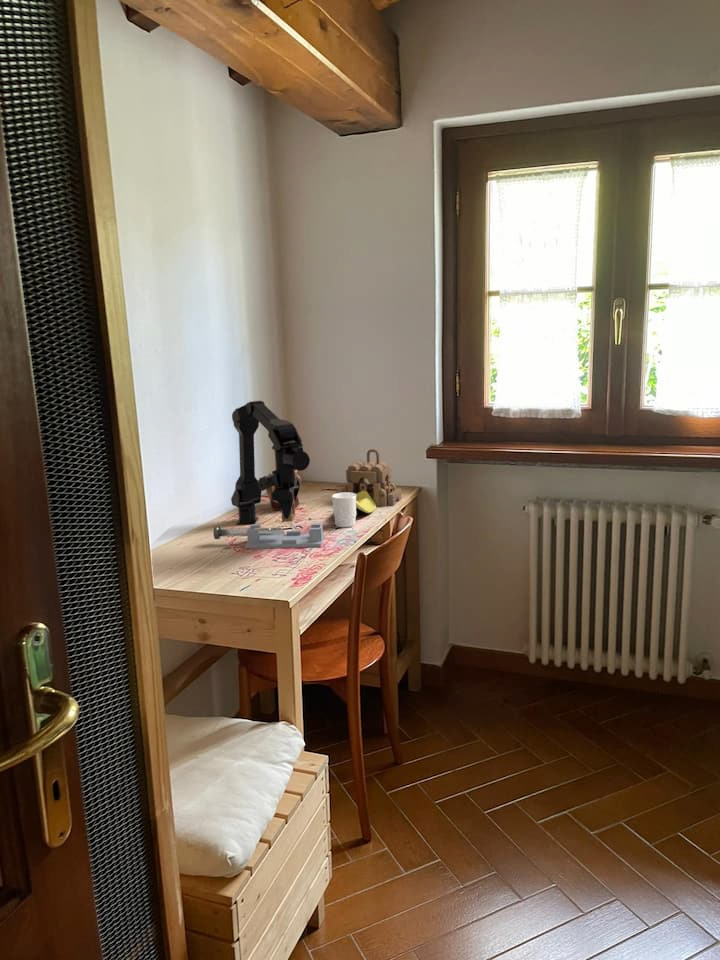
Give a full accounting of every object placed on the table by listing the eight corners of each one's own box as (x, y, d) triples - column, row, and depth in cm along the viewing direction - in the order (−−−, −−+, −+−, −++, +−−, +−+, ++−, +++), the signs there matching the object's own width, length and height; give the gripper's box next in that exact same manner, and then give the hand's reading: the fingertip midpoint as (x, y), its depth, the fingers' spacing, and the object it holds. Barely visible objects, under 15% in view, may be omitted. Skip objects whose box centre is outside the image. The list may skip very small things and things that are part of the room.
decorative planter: (292, 516, 254) (289, 477, 251) (258, 515, 257) (256, 477, 253) (308, 501, 273) (306, 465, 270) (277, 501, 276) (274, 465, 272)
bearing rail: (252, 538, 231) (250, 523, 230) (324, 536, 229) (323, 521, 228) (245, 548, 221) (243, 532, 220) (320, 546, 220) (319, 530, 219)
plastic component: (344, 499, 264) (368, 488, 262) (353, 518, 265) (377, 506, 262) (330, 510, 245) (356, 498, 243) (340, 530, 246) (366, 517, 243)
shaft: (217, 537, 229) (216, 524, 228) (284, 535, 227) (283, 523, 226) (214, 540, 225) (213, 528, 224) (282, 539, 223) (281, 526, 222)
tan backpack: (334, 504, 268) (331, 454, 264) (349, 495, 281) (347, 447, 277) (391, 508, 260) (389, 456, 256) (403, 498, 273) (402, 448, 269)
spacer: (285, 515, 227) (284, 498, 226) (295, 515, 227) (294, 498, 225) (282, 521, 221) (281, 503, 219) (292, 521, 220) (290, 503, 219)
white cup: (335, 529, 237) (334, 499, 235) (331, 522, 245) (330, 493, 242) (359, 526, 239) (358, 496, 236) (354, 520, 246) (353, 491, 244)
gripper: (264, 459, 229) (268, 507, 233) (252, 473, 211) (256, 524, 215) (299, 458, 229) (302, 507, 232) (290, 472, 211) (293, 524, 214)
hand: (288, 515), depth 223 cm, fingers closed on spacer, 7 cm apart
